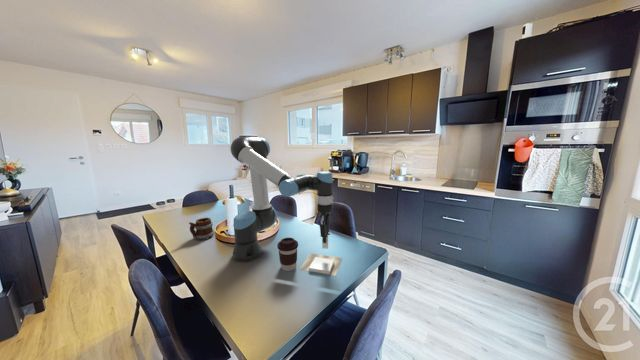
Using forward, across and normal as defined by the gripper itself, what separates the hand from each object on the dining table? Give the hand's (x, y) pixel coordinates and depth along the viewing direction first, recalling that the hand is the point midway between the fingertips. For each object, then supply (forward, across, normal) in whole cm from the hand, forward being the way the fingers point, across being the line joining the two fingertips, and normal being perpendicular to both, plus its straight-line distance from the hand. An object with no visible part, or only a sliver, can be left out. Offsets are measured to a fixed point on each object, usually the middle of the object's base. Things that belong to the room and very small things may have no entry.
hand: (325, 247), depth 111 cm
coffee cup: (+9, -10, +16) cm, 21 cm away
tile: (+6, -1, 0) cm, 6 cm away
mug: (+9, +7, +86) cm, 87 cm away
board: (+8, -3, +1) cm, 9 cm away
